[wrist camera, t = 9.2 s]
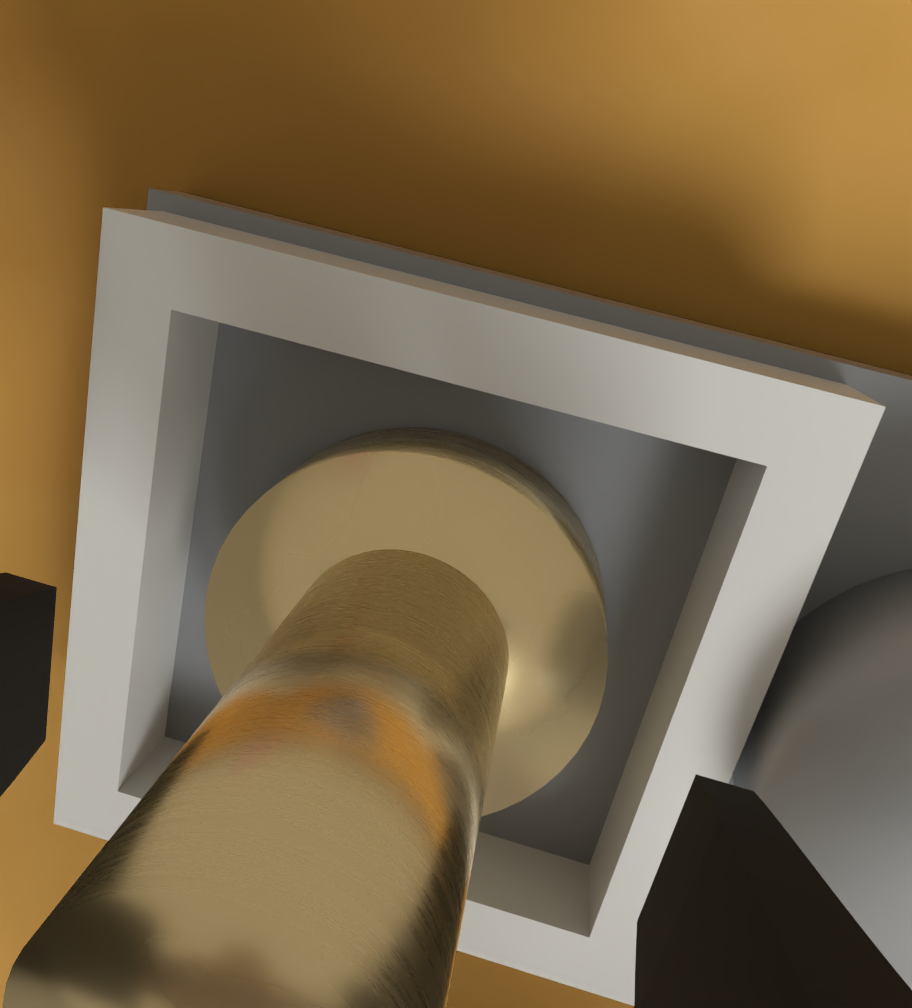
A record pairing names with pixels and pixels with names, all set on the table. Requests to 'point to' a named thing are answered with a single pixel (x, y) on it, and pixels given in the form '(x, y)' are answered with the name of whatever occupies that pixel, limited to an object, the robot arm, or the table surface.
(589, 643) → the brass flanged shaft
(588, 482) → the carrier
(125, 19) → the table surface
